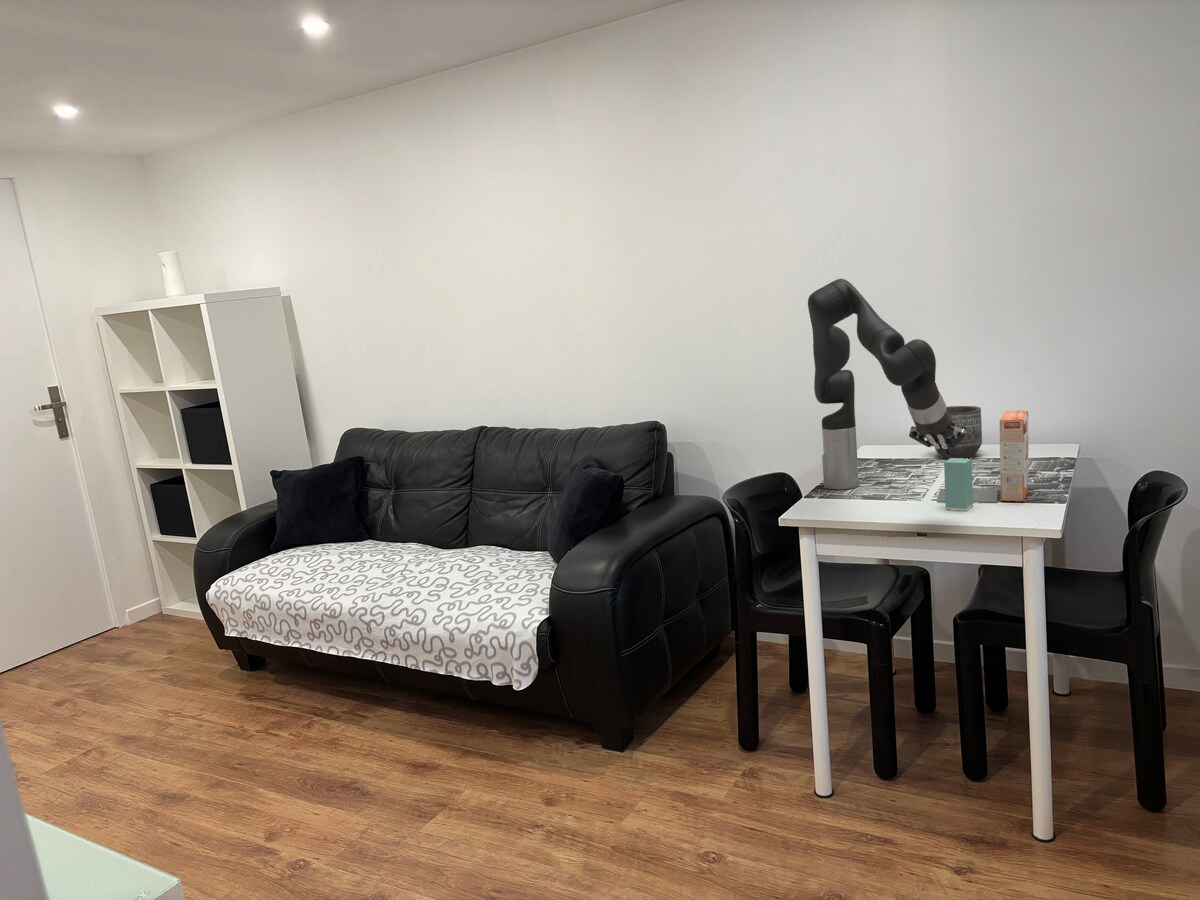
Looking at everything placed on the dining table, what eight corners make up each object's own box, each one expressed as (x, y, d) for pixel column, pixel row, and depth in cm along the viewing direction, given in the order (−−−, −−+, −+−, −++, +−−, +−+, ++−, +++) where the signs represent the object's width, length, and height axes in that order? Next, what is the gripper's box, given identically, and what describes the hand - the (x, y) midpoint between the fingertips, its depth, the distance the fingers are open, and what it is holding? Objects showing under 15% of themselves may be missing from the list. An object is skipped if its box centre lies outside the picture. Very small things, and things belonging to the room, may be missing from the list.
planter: (924, 459, 272) (923, 412, 269) (946, 450, 281) (944, 405, 278) (969, 462, 261) (968, 413, 259) (990, 453, 270) (989, 406, 268)
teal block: (945, 509, 214) (944, 462, 212) (952, 504, 218) (950, 458, 216) (966, 511, 211) (965, 463, 209) (973, 506, 215) (971, 458, 213)
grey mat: (936, 502, 221) (936, 501, 221) (940, 490, 233) (940, 488, 233) (997, 503, 215) (997, 501, 215) (997, 490, 227) (997, 488, 227)
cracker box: (1026, 502, 213) (1025, 418, 209) (999, 502, 216) (997, 419, 212) (1030, 489, 225) (1029, 409, 221) (1004, 488, 228) (1003, 410, 224)
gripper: (894, 423, 195) (914, 466, 206) (955, 423, 187) (973, 468, 198) (901, 396, 198) (920, 440, 210) (962, 395, 190) (978, 441, 202)
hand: (946, 453), depth 204 cm, fingers closed
